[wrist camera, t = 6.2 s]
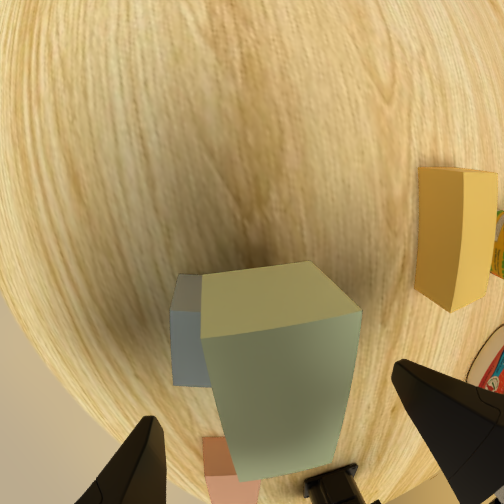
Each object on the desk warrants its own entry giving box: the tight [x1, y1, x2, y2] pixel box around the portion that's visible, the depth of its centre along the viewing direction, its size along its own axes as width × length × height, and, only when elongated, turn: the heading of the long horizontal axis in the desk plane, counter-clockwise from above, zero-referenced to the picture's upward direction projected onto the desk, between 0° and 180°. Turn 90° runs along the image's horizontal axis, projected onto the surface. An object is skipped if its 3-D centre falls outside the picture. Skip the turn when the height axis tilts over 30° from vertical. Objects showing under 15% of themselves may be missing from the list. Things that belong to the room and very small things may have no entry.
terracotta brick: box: [202, 437, 261, 504], centre depth 17 cm, size 8×4×4 cm, turn 178°
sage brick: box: [200, 261, 363, 482], centre depth 9 cm, size 8×4×4 cm, turn 4°
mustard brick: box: [414, 167, 498, 313], centre depth 14 cm, size 8×4×4 cm, turn 7°
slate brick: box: [170, 274, 212, 387], centre depth 13 cm, size 8×4×4 cm, turn 83°
